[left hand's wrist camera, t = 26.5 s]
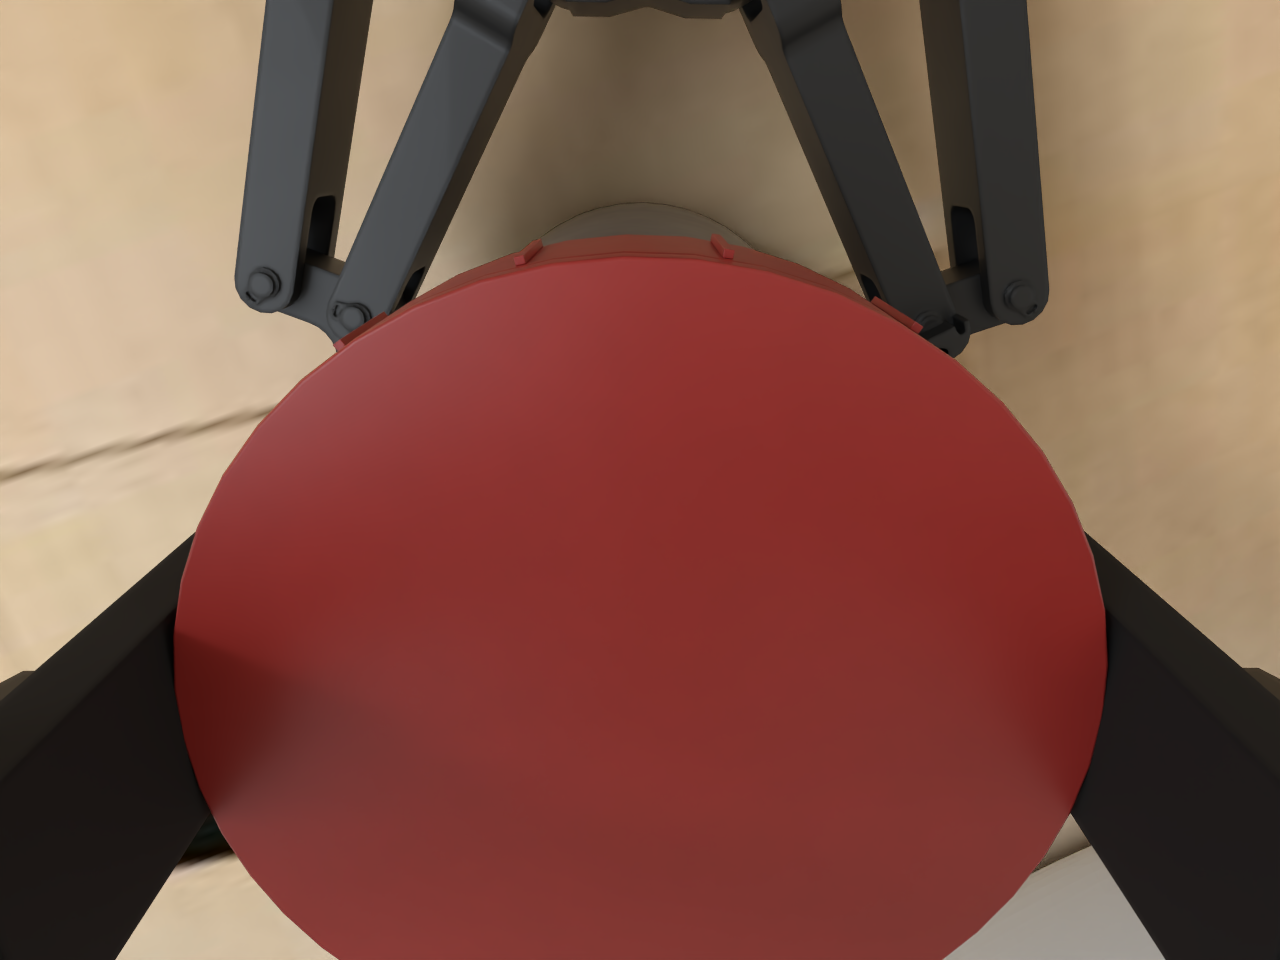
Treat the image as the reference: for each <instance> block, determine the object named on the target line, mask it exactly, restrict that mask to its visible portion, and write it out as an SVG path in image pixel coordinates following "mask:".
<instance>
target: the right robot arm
mask: <svg viewBox="0 0 1280 960" xmlns="http://www.w3.org/2000/svg"><path fill="white" fill-rule="evenodd" d="M919 2H920V10H921V19H922V27H923V36H924V45H925V53H926V62H927V70H928V79H929V88H930V96H931V105H932V113H933V122H934V130H935V139H936V148H937V156H938V165H939V173H940V182H941V191H942V199H943V208H944V216H945V225H946V233H947V242H948V251H949V259H950V268H949V269H946V270H943V271H940V269H939V267H938V264H937V261H936V259H935V256H934V254H933V251H932V249H931V246H930V244H929V241H928V238H927V236H926V233H925V231H924V228H923V226H922V223H921V221H920V218H919V215H918V213H917V210H916V208H915V205H914V203H913V200H912V197H911V195H910V192H909V190H908V187H907V185H906V182H905V180H904V177H903V174H902V172H901V169H900V167H899V164H898V162H897V159H896V157H895V154H894V151H893V149H892V146H891V144H890V141H889V139H888V136H887V134H886V131H885V128H884V126H883V123H882V121H881V118H880V116H879V113H878V110H877V108H876V105H875V103H874V100H873V98H872V95H871V93H870V90H869V87H868V85H867V82H866V80H865V77H864V75H863V72H862V70H861V67H860V64H859V62H858V59H857V57H856V54H855V52H854V49H853V46H852V44H851V41H850V39H849V36H848V34H847V31H846V29H845V26H844V23H843V18H842V9H841V1H840V0H455V1H454V9H453V13H452V16H451V19H450V22H449V24H448V26H447V29H446V31H445V33H444V35H443V38H442V40H441V42H440V45H439V47H438V49H437V52H436V54H435V56H434V59H433V61H432V63H431V66H430V68H429V70H428V72H427V75H426V77H425V79H424V82H423V84H422V86H421V89H420V91H419V93H418V96H417V98H416V100H415V103H414V105H413V107H412V109H411V112H410V114H409V116H408V119H407V121H406V123H405V126H404V128H403V130H402V133H401V135H400V137H399V140H398V142H397V144H396V146H395V149H394V151H393V153H392V156H391V158H390V160H389V163H388V165H387V167H386V170H385V172H384V174H383V177H382V179H381V181H380V183H379V186H378V188H377V190H376V193H375V195H374V197H373V200H372V202H371V204H370V207H369V209H368V211H367V214H366V216H365V218H364V220H363V223H362V225H361V227H360V230H359V232H358V234H357V237H356V239H355V241H354V244H353V246H352V248H351V251H350V253H349V255H348V257H347V260H346V262H344V261H341V260H338V259H336V258H334V254H335V247H336V241H337V234H338V228H339V221H340V214H341V208H342V201H343V195H344V188H345V182H346V175H347V168H348V162H349V155H350V149H351V142H352V136H353V129H354V122H355V116H356V109H357V103H358V96H359V90H360V83H361V76H362V70H363V63H364V57H365V50H366V43H367V37H368V30H369V24H370V17H371V11H372V4H373V0H266V6H265V14H264V23H263V32H262V41H261V49H260V58H259V67H258V76H257V84H256V93H255V102H254V111H253V119H252V128H251V137H250V145H249V154H248V163H247V172H246V180H245V189H244V198H243V207H242V215H241V224H240V233H239V242H238V250H237V259H236V268H235V287H236V290H237V292H238V294H239V296H240V298H241V299H242V300H243V301H244V302H245V303H246V304H247V305H248V306H249V307H250V308H252V309H254V310H257V311H259V312H263V313H274V312H276V311H278V312H281V313H284V314H287V315H289V316H292V317H295V318H298V319H300V320H303V321H306V322H309V323H311V324H313V325H315V326H317V327H319V328H320V329H321V330H322V331H324V332H325V333H326V334H327V335H328V337H329V338H330V339H331V340H332V342H333V344H334V343H336V342H337V341H338V340H340V339H341V338H343V337H344V336H346V335H347V334H349V333H351V332H352V331H354V330H355V329H357V328H358V327H360V326H362V325H363V324H365V323H366V322H368V321H369V320H371V319H373V318H374V317H376V316H377V315H379V314H380V313H382V312H385V313H386V314H387V315H388V316H389V315H391V314H392V313H394V312H395V311H397V310H398V309H400V308H401V307H403V306H404V305H406V304H407V303H409V302H410V301H412V300H414V299H415V298H416V296H417V294H418V291H419V289H420V287H421V285H422V283H423V281H424V279H425V276H426V274H427V272H428V270H429V268H430V266H431V263H432V261H433V259H434V257H435V255H436V253H437V251H438V248H439V246H440V244H441V242H442V240H443V238H444V236H445V233H446V231H447V229H448V227H449V225H450V223H451V221H452V218H453V216H454V214H455V212H456V210H457V208H458V206H459V203H460V201H461V199H462V197H463V195H464V193H465V191H466V188H467V186H468V184H469V182H470V180H471V178H472V175H473V173H474V171H475V169H476V167H477V165H478V163H479V160H480V158H481V156H482V154H483V152H484V150H485V148H486V145H487V143H488V141H489V139H490V137H491V135H492V133H493V130H494V128H495V126H496V124H497V122H498V120H499V118H500V115H501V113H502V111H503V109H504V107H505V105H506V103H507V100H508V98H509V96H510V94H511V92H512V90H513V87H514V85H515V83H516V81H517V79H518V77H519V75H520V72H521V70H522V68H523V66H524V64H525V62H526V60H527V59H528V57H529V56H530V54H531V53H532V52H533V50H534V49H535V47H536V45H537V43H538V41H539V39H540V37H541V35H542V33H543V31H544V29H545V27H546V25H547V23H548V21H549V18H550V16H551V14H552V12H553V10H554V8H555V6H556V5H557V6H559V7H561V8H564V9H567V10H570V11H571V13H572V15H573V16H591V17H611V16H614V15H618V14H621V13H625V12H629V11H632V10H636V9H639V8H643V7H652V8H655V9H658V10H661V11H664V12H667V13H671V14H674V15H677V16H680V17H683V18H702V19H722V17H723V16H724V14H725V13H728V12H731V11H734V10H736V9H738V8H739V10H740V12H741V14H742V17H743V19H744V21H745V24H746V26H747V29H748V31H749V33H750V36H751V38H752V40H753V42H754V45H755V47H756V49H757V51H758V52H759V54H760V56H761V57H762V58H763V60H764V61H765V63H766V65H767V67H768V69H769V71H770V73H771V76H772V78H773V81H774V83H775V85H776V88H777V90H778V92H779V95H780V97H781V99H782V102H783V104H784V106H785V109H786V111H787V114H788V116H789V118H790V121H791V123H792V125H793V128H794V130H795V132H796V135H797V137H798V139H799V142H800V144H801V147H802V149H803V151H804V154H805V156H806V158H807V161H808V163H809V165H810V168H811V170H812V172H813V175H814V177H815V180H816V182H817V184H818V187H819V189H820V191H821V194H822V196H823V198H824V201H825V203H826V206H827V208H828V210H829V213H830V215H831V217H832V220H833V222H834V224H835V227H836V229H837V231H838V234H839V236H840V239H841V241H842V243H843V246H844V248H845V250H846V253H847V255H848V257H849V260H850V262H851V264H852V267H853V269H854V272H855V274H856V276H857V279H858V281H859V283H860V286H861V288H862V290H863V293H864V295H865V297H866V300H867V301H869V302H870V303H871V301H872V300H873V298H874V297H875V296H876V297H878V298H879V299H881V300H882V301H884V302H885V303H887V304H889V305H890V306H892V307H893V308H895V309H896V310H898V311H900V312H901V313H903V314H904V315H906V316H908V317H909V318H911V319H912V320H914V321H915V322H917V323H918V324H920V325H921V326H923V328H922V329H921V331H920V332H919V333H918V335H920V336H921V337H923V338H924V339H926V340H927V341H929V342H930V343H931V344H933V345H934V346H936V347H937V348H939V349H940V350H942V351H943V352H945V353H946V354H948V355H949V356H951V357H952V358H954V357H956V356H957V355H959V354H960V353H961V352H962V351H963V349H964V348H965V347H966V345H967V344H968V341H969V337H970V335H971V334H973V333H976V332H979V331H982V330H985V329H988V328H991V327H994V326H997V325H1000V324H1003V323H1007V324H1010V325H1023V324H1025V323H1027V322H1030V321H1032V320H1034V319H1035V318H1036V317H1037V316H1038V315H1039V314H1040V313H1041V312H1042V311H1043V309H1044V307H1045V305H1046V303H1047V302H1048V295H1049V281H1048V268H1047V255H1046V243H1045V230H1044V217H1043V205H1042V192H1041V179H1040V167H1039V154H1038V141H1037V129H1036V116H1035V103H1034V91H1033V78H1032V65H1031V53H1030V40H1029V27H1028V15H1027V2H1026V0H919ZM336 352H338V351H337V349H336Z"/></svg>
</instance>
